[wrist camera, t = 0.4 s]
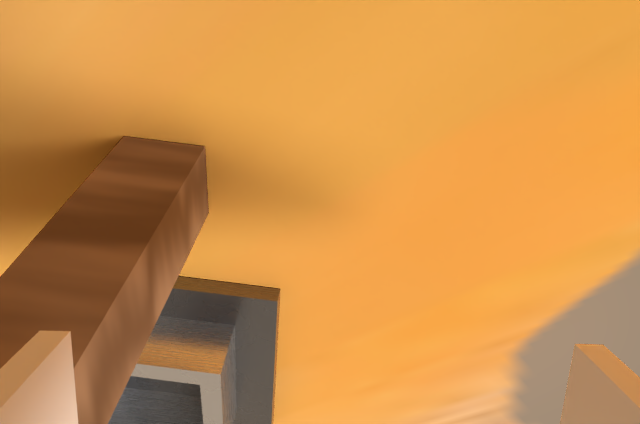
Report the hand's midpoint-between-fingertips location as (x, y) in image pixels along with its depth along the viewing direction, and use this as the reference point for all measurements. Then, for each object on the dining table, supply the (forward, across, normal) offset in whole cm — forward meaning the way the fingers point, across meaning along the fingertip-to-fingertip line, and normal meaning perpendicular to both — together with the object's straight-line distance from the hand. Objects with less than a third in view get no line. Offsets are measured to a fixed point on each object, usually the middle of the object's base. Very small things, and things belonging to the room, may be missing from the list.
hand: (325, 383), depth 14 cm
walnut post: (+14, -8, +2) cm, 16 cm away
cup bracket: (+19, -9, -10) cm, 24 cm away
